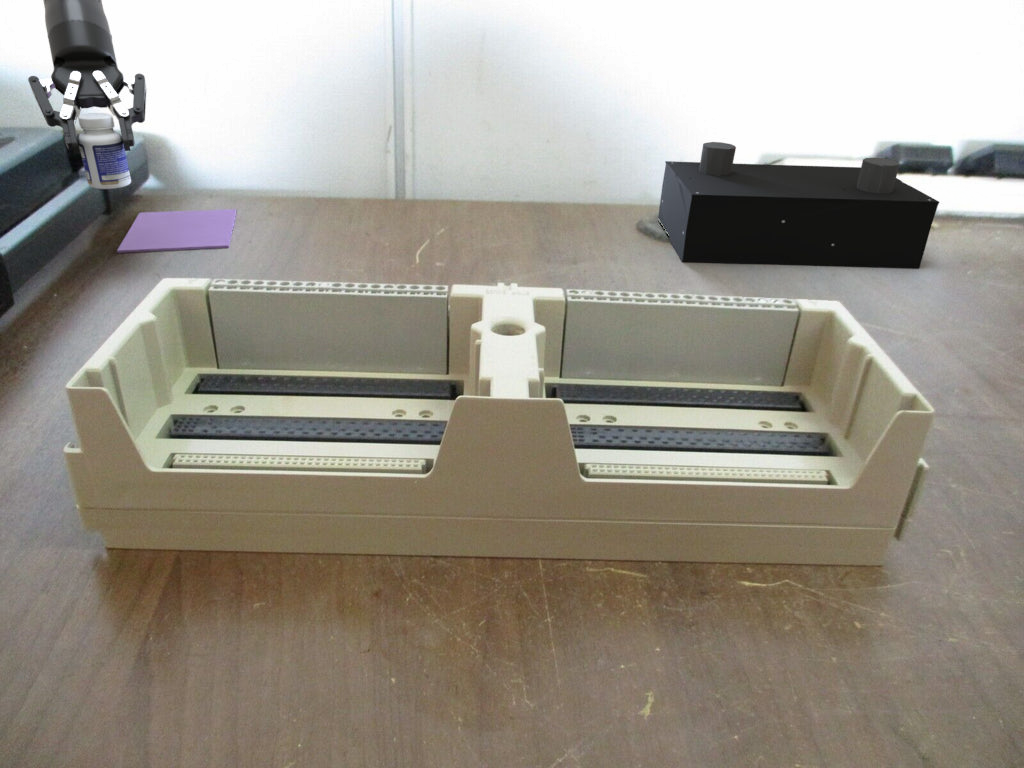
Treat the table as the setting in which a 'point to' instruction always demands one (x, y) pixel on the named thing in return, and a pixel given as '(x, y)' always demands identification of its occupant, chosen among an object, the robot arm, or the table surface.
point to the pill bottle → (103, 152)
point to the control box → (793, 213)
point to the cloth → (179, 231)
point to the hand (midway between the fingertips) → (102, 148)
